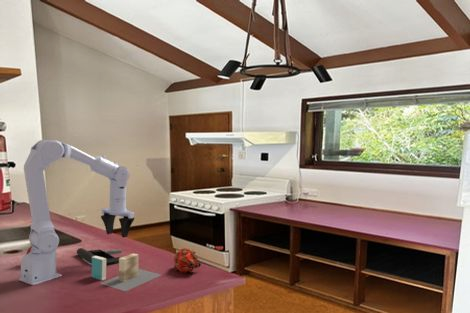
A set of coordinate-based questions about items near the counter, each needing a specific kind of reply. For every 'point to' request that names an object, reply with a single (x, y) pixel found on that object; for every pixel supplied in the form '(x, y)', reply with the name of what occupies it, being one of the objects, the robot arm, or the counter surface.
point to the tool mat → (131, 280)
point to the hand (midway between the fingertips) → (117, 235)
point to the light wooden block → (128, 267)
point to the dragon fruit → (186, 261)
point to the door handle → (105, 254)
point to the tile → (99, 267)
